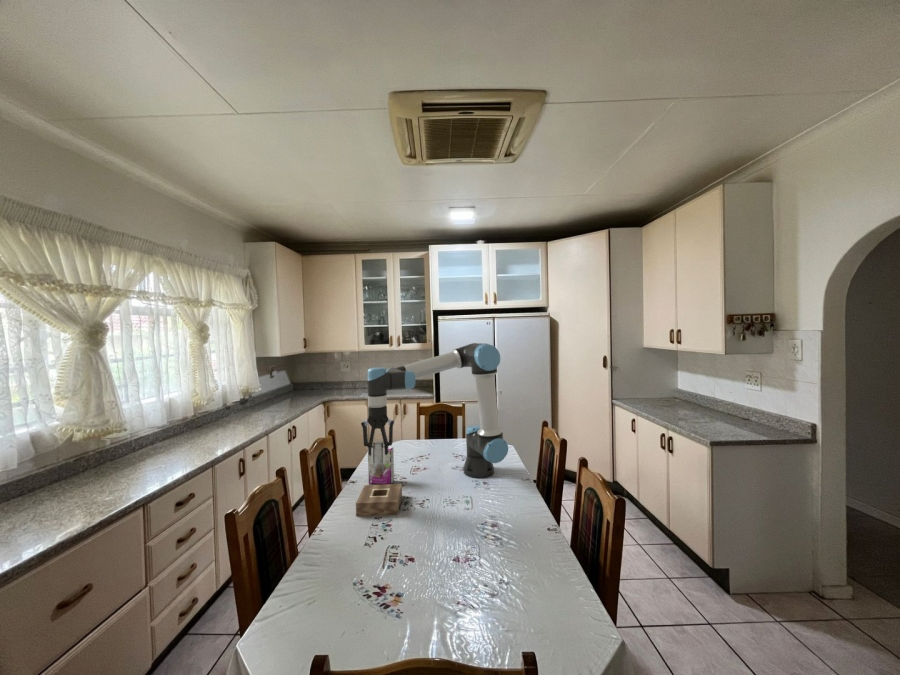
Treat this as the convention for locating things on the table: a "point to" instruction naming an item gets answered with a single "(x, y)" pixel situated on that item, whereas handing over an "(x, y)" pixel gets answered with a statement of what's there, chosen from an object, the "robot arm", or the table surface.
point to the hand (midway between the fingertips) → (378, 462)
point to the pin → (378, 457)
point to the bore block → (379, 500)
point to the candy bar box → (388, 473)
